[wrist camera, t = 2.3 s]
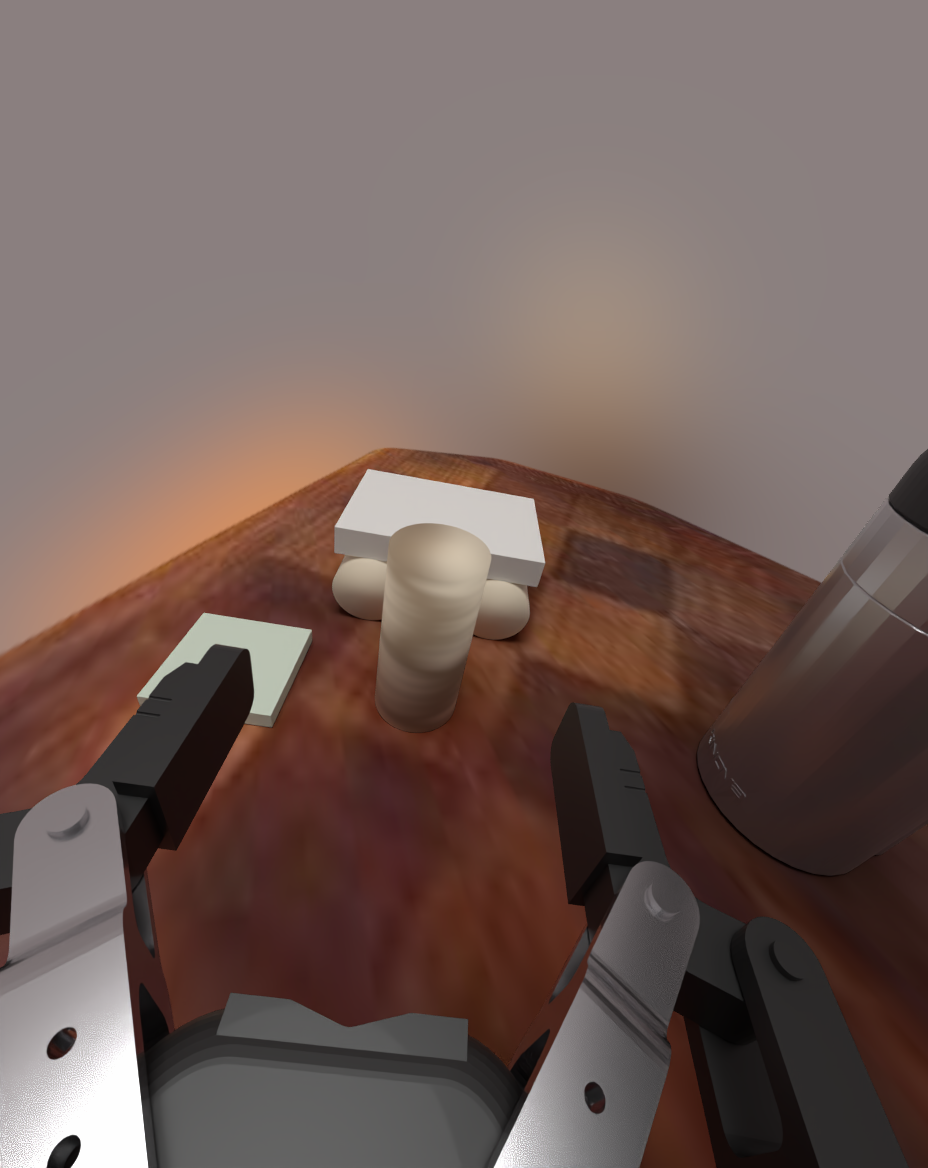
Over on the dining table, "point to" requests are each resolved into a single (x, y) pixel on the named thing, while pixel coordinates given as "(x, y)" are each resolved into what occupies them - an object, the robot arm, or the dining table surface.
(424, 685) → the roller
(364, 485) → the slab rig
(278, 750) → the dining table surface
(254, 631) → the green mark
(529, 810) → the dining table surface
